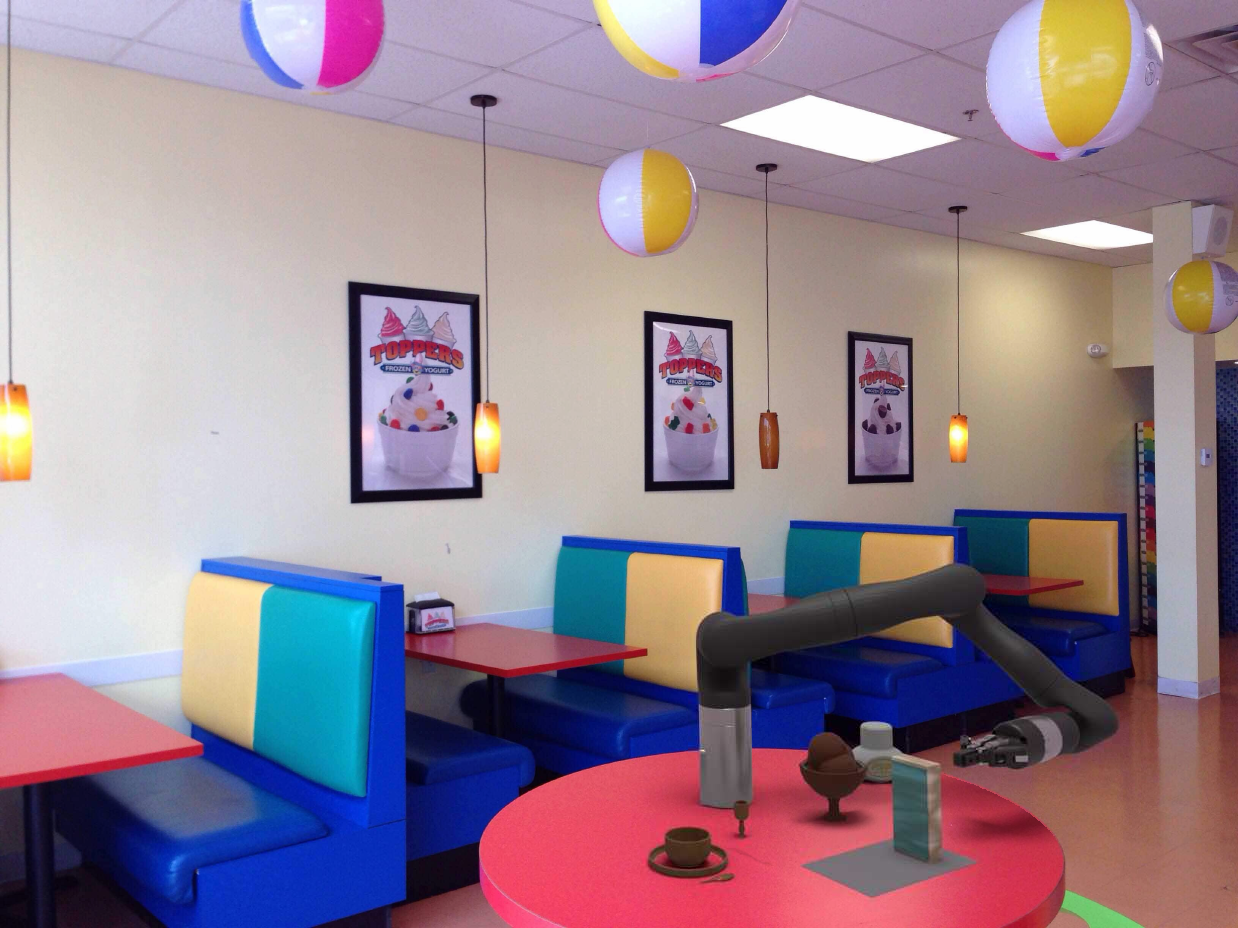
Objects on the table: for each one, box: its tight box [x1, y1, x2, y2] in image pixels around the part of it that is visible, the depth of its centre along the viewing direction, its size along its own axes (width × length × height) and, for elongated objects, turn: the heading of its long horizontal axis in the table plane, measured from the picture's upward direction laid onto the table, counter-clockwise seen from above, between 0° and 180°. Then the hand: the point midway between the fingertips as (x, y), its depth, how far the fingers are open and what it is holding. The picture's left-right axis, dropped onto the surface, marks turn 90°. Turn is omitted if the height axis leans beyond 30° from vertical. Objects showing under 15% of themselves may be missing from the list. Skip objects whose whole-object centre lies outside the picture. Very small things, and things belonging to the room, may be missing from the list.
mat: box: [799, 837, 979, 898], centre depth 149 cm, size 22×14×1 cm, turn 122°
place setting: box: [648, 800, 750, 884], centre depth 155 cm, size 18×20×6 cm
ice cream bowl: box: [798, 731, 868, 823], centre depth 170 cm, size 11×11×15 cm
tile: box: [891, 753, 943, 864], centre depth 152 cm, size 3×7×14 cm, turn 32°
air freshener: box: [852, 721, 904, 783], centre depth 194 cm, size 11×8×10 cm
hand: (957, 760), depth 159 cm, fingers closed
